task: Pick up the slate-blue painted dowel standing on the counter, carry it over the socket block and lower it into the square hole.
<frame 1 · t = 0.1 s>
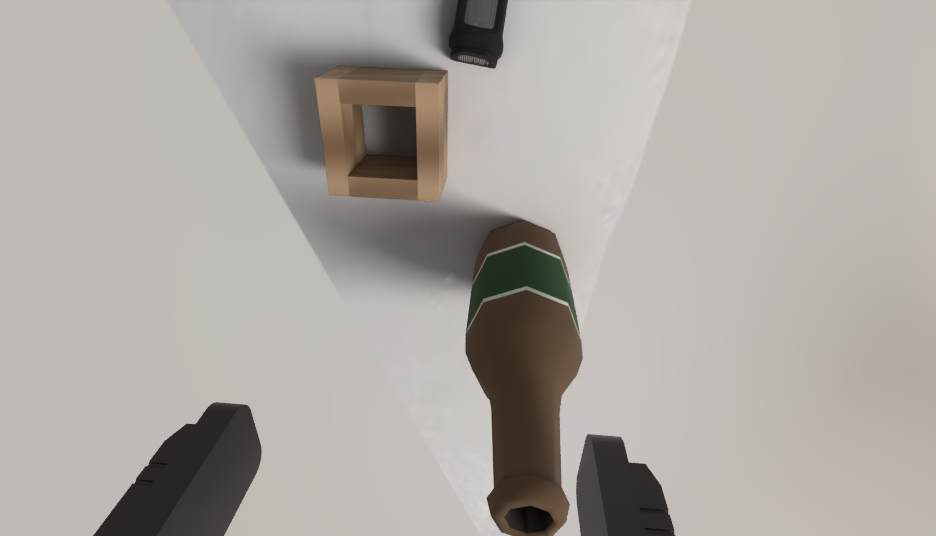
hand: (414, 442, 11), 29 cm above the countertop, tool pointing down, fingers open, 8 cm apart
socket block: (395, 124, 37), on the countertop
beer bottle: (520, 256, 42), on the countertop
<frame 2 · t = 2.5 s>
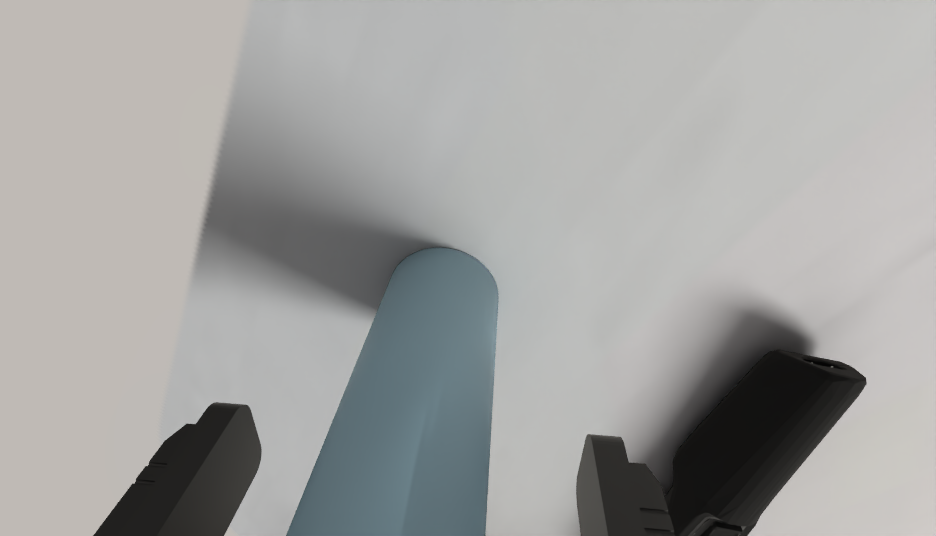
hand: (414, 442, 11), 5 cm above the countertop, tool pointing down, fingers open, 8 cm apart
electric trimmer: (692, 465, 20), on the countertop
peg: (443, 295, 16), on the countertop
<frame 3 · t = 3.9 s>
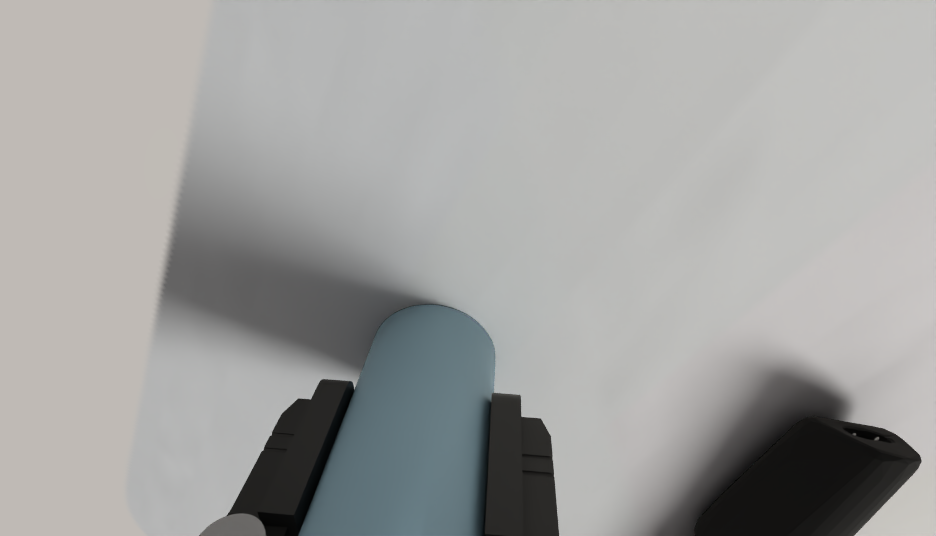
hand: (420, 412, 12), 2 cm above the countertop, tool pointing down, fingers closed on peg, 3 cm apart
electric trimmer: (715, 529, 18), on the countertop
peg: (434, 354, 14), on the countertop, touching gripper
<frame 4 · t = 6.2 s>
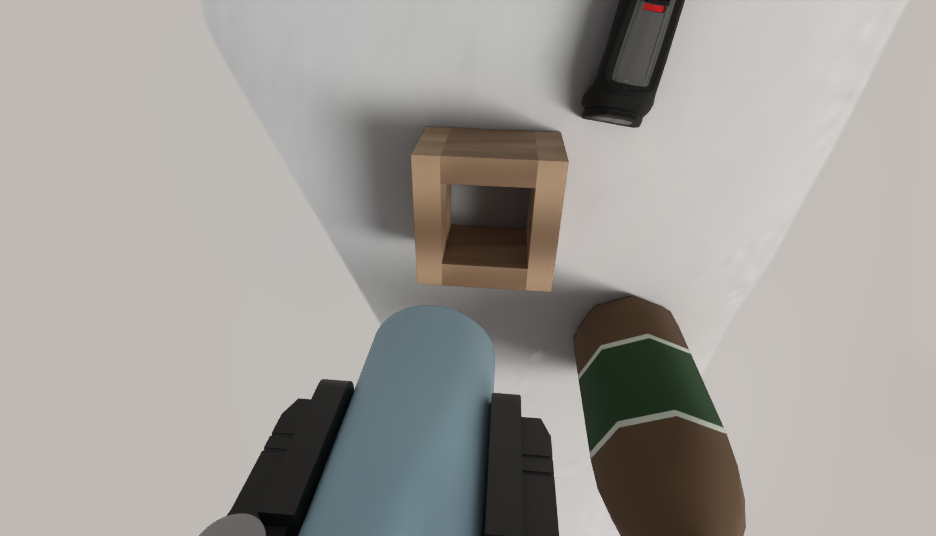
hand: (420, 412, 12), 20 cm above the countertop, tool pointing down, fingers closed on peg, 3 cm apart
peg: (433, 355, 14), point 18 cm above the countertop, touching gripper
socket block: (490, 191, 31), on the countertop
beer bottle: (623, 333, 36), on the countertop
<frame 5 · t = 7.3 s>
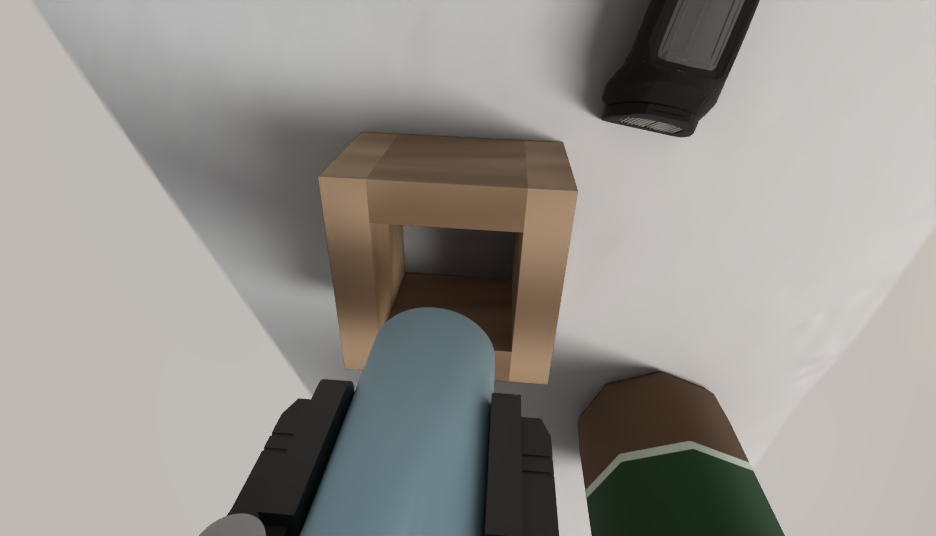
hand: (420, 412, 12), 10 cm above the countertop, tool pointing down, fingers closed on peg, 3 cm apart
peg: (434, 357, 14), point 8 cm above the countertop, touching gripper
socket block: (459, 228, 21), on the countertop
beer bottle: (646, 417, 26), on the countertop
when the fingers open (6 cm above the countertop, at t = 8.7 s): peg drops 4 cm, resting in socket block.
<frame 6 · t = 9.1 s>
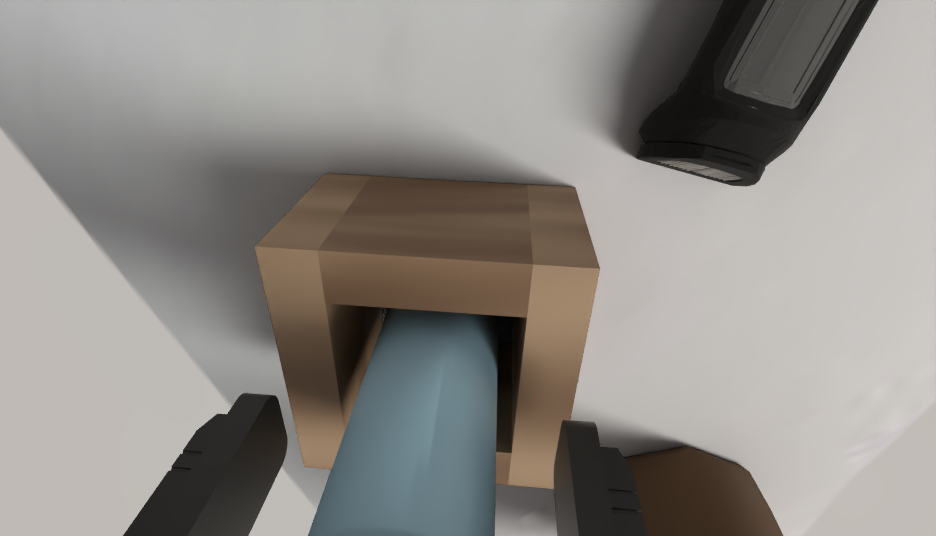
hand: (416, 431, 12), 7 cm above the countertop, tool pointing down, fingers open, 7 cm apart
peg: (449, 286, 17), resting in socket block
socket block: (447, 285, 17), on the countertop
beer bottle: (668, 493, 23), on the countertop
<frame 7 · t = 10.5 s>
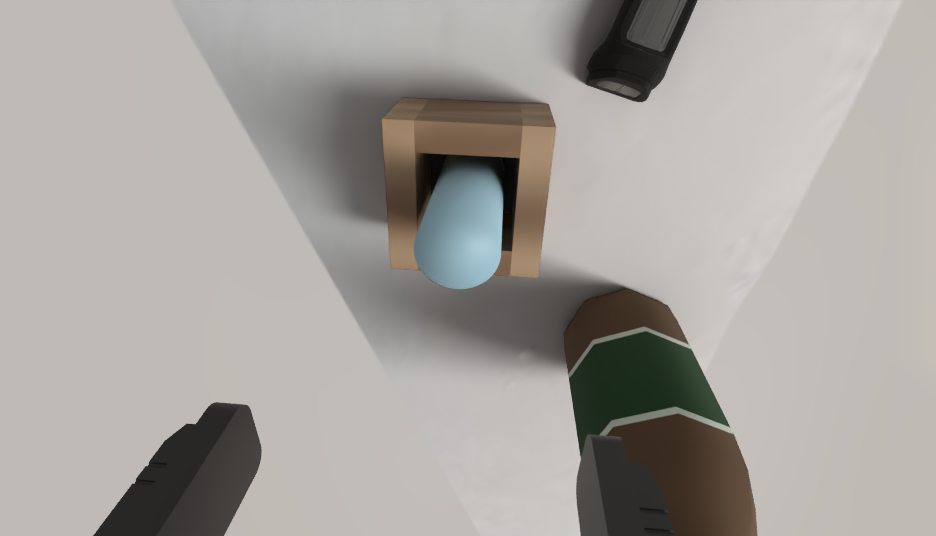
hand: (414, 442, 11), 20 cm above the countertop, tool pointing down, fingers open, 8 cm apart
peg: (473, 171, 28), resting in socket block
socket block: (472, 171, 28), on the countertop
beer bottle: (617, 330, 34), on the countertop
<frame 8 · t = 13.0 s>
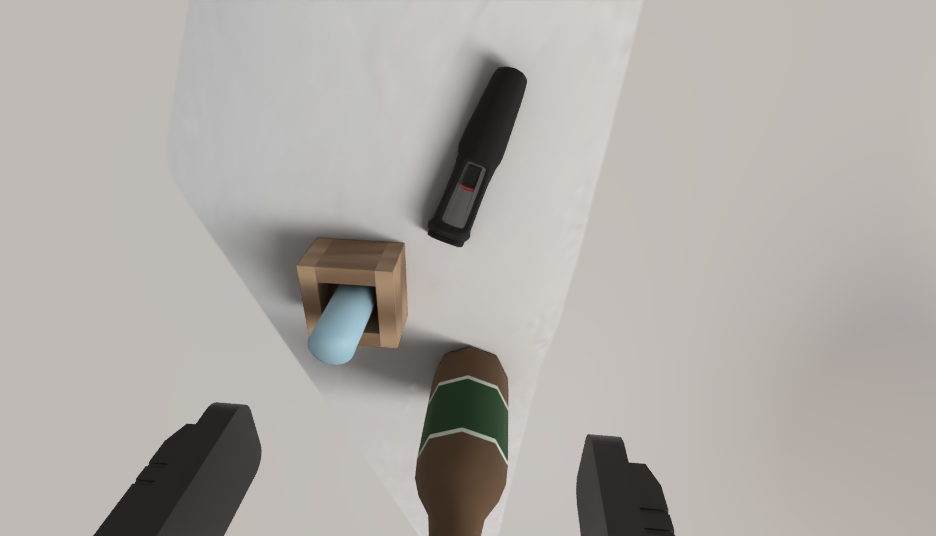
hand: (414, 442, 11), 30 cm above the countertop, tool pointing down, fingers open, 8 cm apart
electric trimmer: (473, 161, 39), on the countertop
peg: (365, 278, 46), resting in socket block
socket block: (364, 277, 46), on the countertop
beer bottle: (471, 371, 51), on the countertop
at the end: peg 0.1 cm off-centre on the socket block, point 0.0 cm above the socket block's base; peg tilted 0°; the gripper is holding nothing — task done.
